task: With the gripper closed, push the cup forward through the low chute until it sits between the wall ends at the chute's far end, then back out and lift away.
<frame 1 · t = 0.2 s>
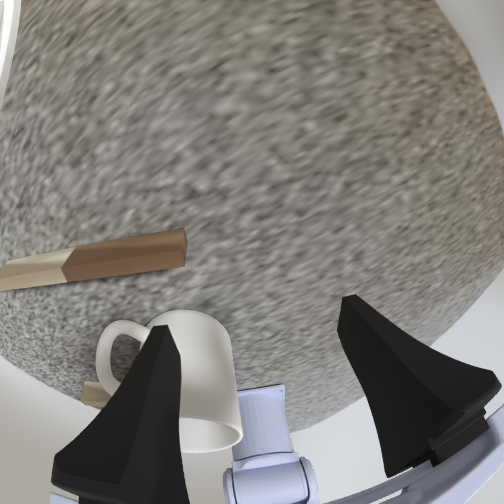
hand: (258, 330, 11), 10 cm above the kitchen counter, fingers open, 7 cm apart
cup: (170, 328, 24), on the kitchen counter
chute: (117, 334, 23), on the kitchen counter
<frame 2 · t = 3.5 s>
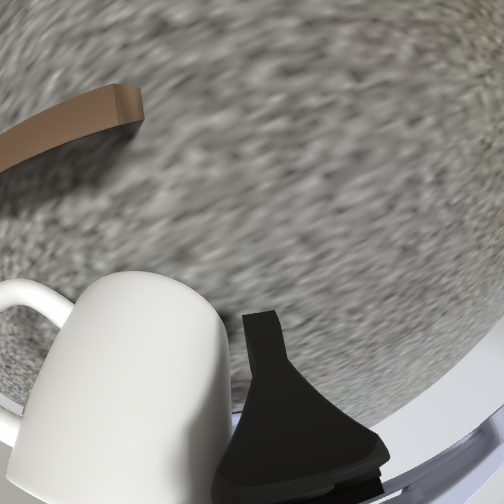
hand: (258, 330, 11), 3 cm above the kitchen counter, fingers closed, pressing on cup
cup: (122, 309, 13), on the kitchen counter, touching gripper
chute: (45, 317, 12), on the kitchen counter
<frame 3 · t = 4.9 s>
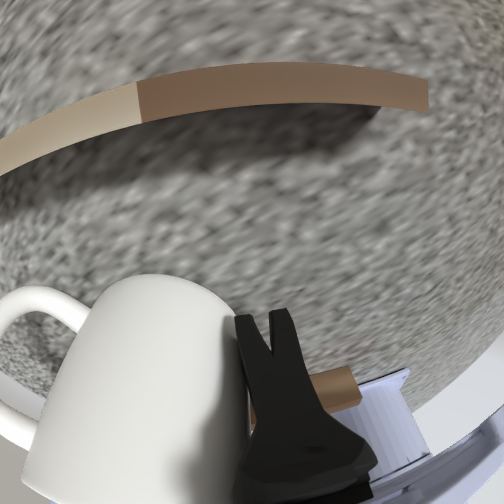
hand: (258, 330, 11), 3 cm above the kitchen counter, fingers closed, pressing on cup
cup: (139, 312, 13), on the kitchen counter, touching gripper
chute: (199, 301, 13), on the kitchen counter
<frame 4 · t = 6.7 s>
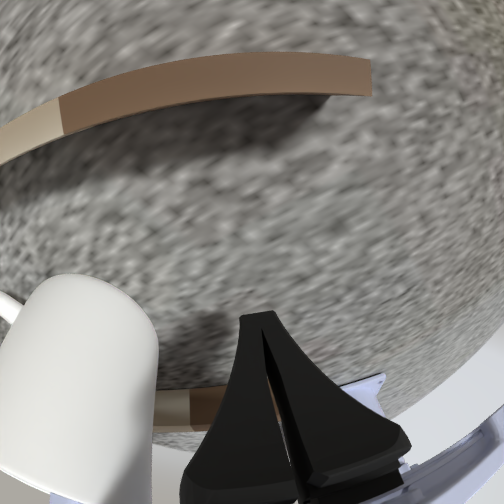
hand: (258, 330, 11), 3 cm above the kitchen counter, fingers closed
cup: (67, 309, 13), on the kitchen counter
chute: (149, 300, 13), on the kitchen counter
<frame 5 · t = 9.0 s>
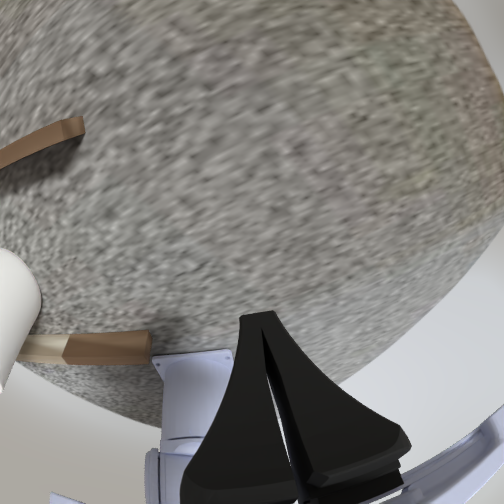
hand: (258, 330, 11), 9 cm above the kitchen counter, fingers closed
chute: (31, 263, 17), on the kitchen counter
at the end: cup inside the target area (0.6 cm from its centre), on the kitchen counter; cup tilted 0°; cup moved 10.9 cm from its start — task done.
